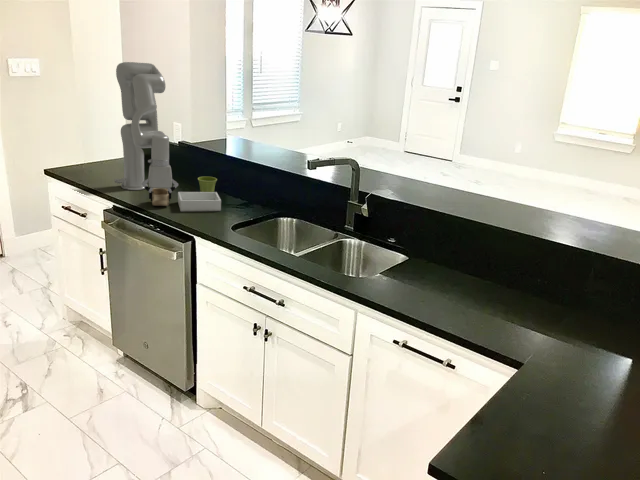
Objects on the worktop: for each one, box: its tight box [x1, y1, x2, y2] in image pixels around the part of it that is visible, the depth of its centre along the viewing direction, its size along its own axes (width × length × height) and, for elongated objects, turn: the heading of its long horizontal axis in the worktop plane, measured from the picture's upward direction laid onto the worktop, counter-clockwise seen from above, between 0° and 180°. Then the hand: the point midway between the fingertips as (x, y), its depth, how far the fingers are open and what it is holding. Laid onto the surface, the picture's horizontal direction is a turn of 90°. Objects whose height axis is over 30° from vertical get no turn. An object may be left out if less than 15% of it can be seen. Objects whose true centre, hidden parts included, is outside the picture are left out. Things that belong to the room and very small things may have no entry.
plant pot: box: [197, 176, 218, 192], centre depth 269 cm, size 9×9×9 cm
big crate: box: [177, 191, 222, 212], centre depth 252 cm, size 18×14×5 cm
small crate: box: [151, 188, 170, 207], centre depth 249 cm, size 7×10×5 cm
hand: (160, 200), depth 249 cm, fingers closed on small crate, 7 cm apart
